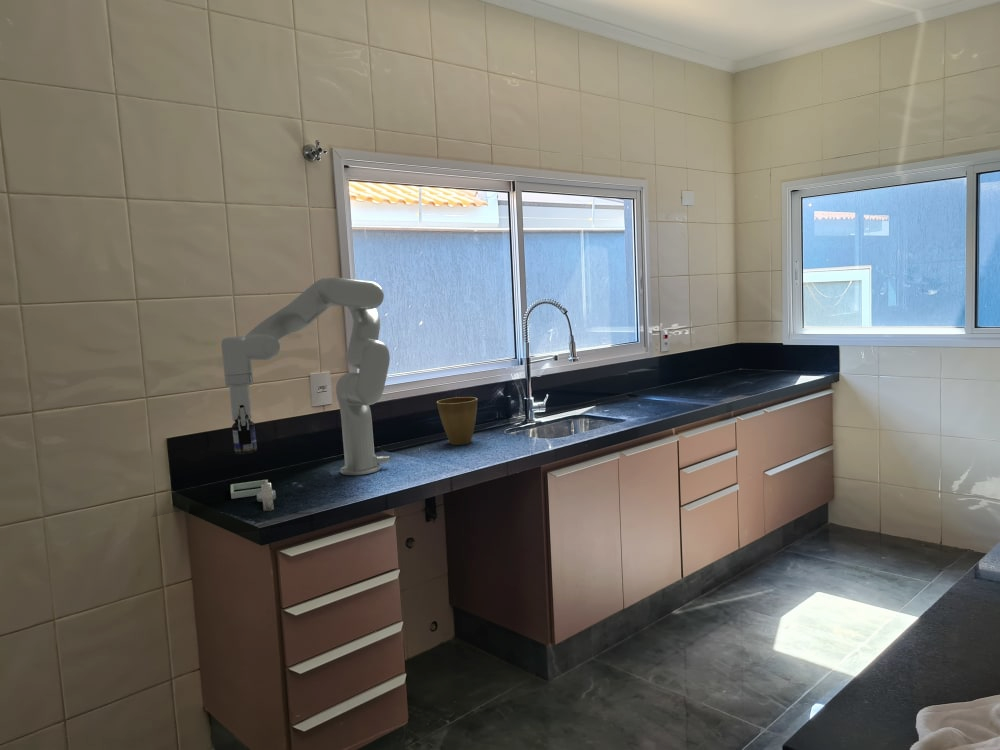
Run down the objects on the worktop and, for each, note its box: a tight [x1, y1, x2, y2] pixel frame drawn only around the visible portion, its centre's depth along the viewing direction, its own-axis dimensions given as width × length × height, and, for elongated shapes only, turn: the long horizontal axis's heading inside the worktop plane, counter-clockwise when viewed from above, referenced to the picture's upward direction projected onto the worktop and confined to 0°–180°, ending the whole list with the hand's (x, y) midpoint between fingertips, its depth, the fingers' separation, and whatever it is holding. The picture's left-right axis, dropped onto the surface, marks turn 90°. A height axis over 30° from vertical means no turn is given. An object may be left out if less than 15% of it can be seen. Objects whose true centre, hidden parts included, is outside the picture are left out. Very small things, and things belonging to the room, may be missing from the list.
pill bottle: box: [231, 415, 258, 455], centre depth 215 cm, size 6×6×11 cm
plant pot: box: [436, 396, 478, 446], centre depth 273 cm, size 15×15×16 cm
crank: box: [256, 481, 277, 512], centre depth 203 cm, size 15×5×7 cm, turn 20°
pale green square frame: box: [230, 479, 269, 500], centre depth 217 cm, size 10×10×3 cm
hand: (245, 441), depth 215 cm, fingers closed on pill bottle, 6 cm apart
